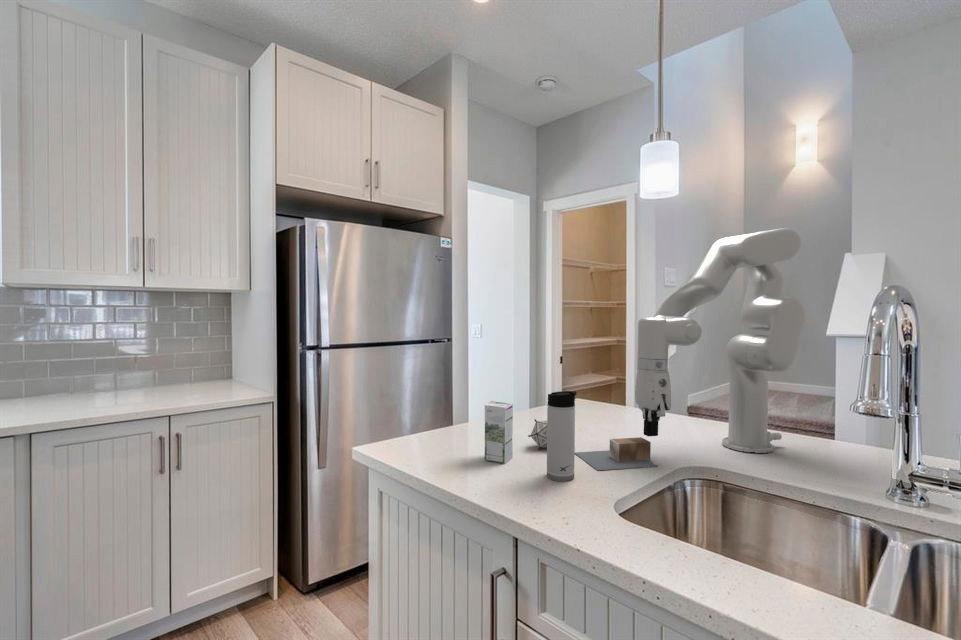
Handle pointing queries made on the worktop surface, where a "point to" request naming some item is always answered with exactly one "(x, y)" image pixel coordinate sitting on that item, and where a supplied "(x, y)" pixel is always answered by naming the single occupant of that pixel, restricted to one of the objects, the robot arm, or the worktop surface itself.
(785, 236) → the robot arm
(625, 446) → the pillar block
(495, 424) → the syrup box
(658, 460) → the worktop surface
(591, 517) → the worktop surface
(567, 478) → the travel mug
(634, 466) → the mat
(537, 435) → the game die
